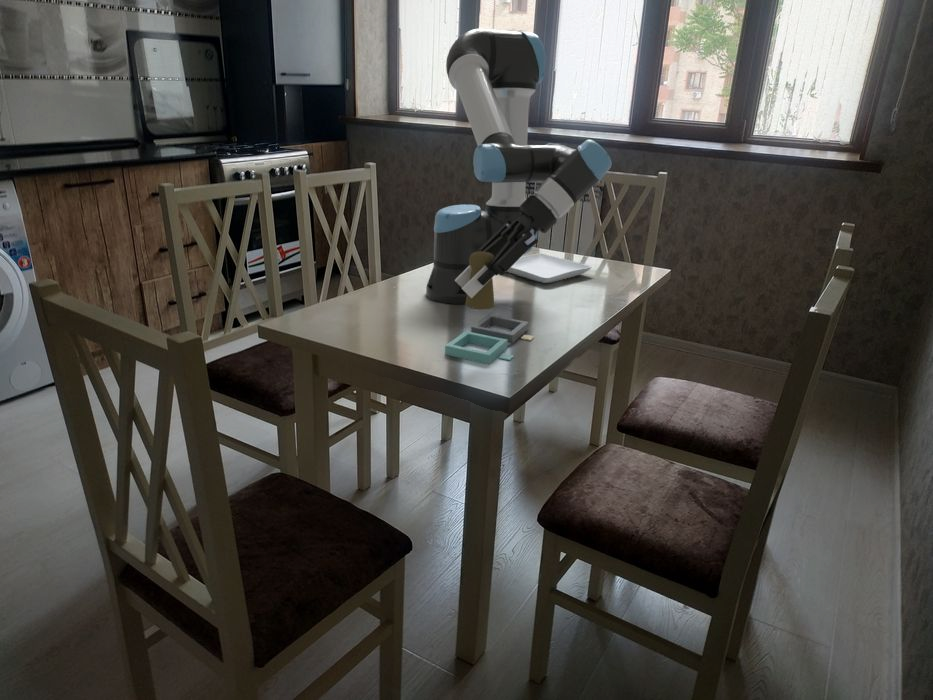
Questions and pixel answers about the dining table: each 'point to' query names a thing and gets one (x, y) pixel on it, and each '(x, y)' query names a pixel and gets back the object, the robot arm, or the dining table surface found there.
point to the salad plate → (546, 268)
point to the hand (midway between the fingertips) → (463, 289)
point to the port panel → (488, 339)
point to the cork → (486, 294)
